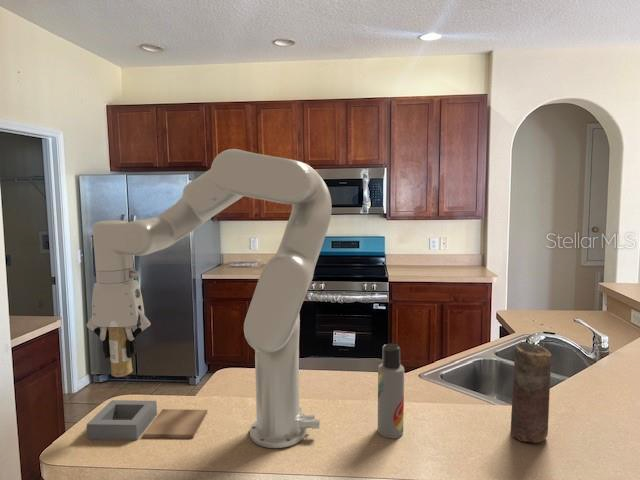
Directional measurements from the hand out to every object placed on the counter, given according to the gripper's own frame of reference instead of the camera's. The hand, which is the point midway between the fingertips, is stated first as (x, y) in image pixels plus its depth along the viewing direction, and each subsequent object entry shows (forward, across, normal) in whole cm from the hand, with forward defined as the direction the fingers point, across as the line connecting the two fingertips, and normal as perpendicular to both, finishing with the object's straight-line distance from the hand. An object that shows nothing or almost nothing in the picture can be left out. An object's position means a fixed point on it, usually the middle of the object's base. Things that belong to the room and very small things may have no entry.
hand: (120, 355), depth 101 cm
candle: (+18, -91, +2) cm, 92 cm away
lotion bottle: (+18, -61, +1) cm, 63 cm away
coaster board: (+17, -12, -1) cm, 21 cm away
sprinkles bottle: (+5, 0, 0) cm, 5 cm away
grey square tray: (+17, 0, 0) cm, 17 cm away
